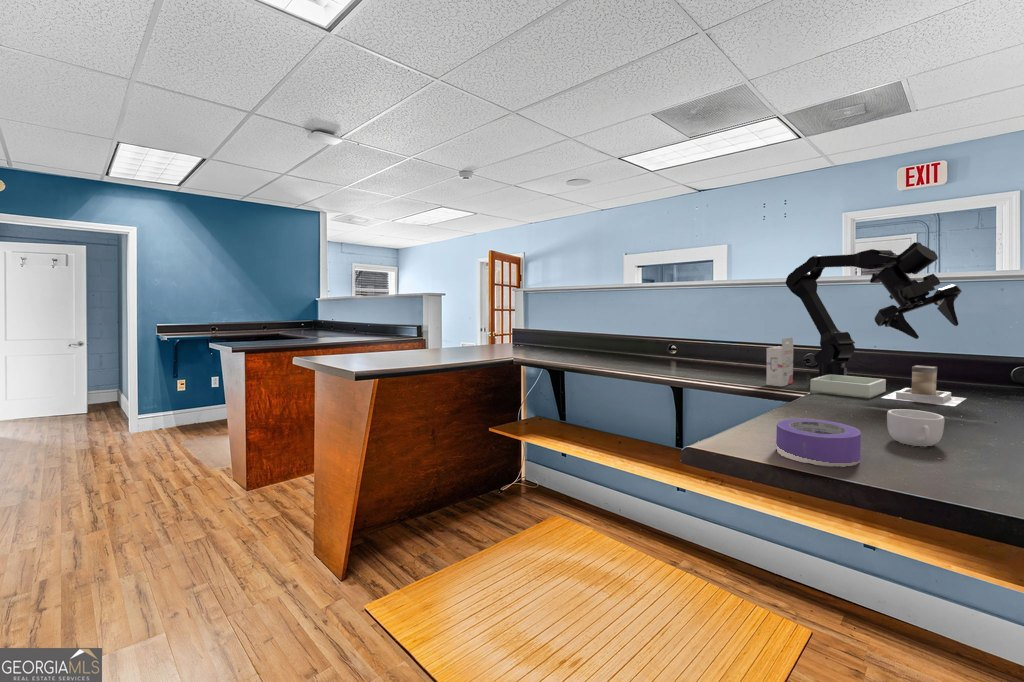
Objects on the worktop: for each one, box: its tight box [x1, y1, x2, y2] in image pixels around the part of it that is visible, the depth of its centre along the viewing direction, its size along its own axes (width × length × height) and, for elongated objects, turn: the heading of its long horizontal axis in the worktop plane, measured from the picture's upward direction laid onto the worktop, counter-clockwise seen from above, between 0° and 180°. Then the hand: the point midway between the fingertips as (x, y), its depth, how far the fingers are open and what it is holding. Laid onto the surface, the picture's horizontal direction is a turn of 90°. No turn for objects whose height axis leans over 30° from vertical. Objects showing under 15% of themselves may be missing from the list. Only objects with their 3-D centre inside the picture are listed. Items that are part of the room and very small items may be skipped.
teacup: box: [886, 408, 945, 447], centre depth 82 cm, size 10×8×5 cm
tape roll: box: [775, 418, 862, 463], centre depth 77 cm, size 12×12×5 cm
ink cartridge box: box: [765, 336, 794, 388], centre depth 145 cm, size 9×5×15 cm, turn 129°
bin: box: [809, 374, 887, 399], centre depth 129 cm, size 14×14×4 cm
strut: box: [911, 365, 938, 396], centre depth 118 cm, size 4×4×8 cm
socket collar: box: [880, 387, 967, 407], centre depth 118 cm, size 14×14×2 cm
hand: (937, 331), depth 121 cm, fingers open, 9 cm apart
